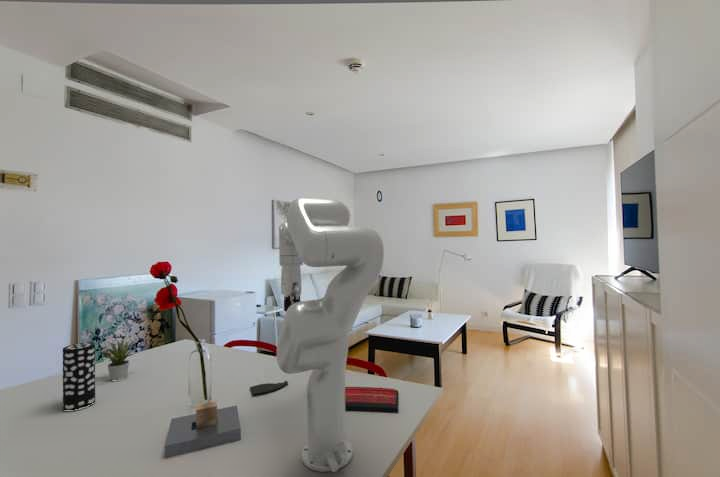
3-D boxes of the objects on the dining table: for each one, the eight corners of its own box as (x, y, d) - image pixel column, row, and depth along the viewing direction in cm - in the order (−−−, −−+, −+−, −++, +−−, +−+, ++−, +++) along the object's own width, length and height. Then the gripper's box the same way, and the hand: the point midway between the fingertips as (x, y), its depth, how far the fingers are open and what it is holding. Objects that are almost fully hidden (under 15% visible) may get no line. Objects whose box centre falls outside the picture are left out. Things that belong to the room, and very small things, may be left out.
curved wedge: (290, 391, 120) (290, 386, 120) (251, 398, 114) (251, 394, 114) (286, 382, 127) (286, 378, 127) (249, 389, 122) (249, 384, 122)
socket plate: (240, 439, 89) (240, 428, 89) (164, 458, 82) (164, 446, 82) (237, 415, 102) (236, 405, 102) (171, 429, 95) (171, 418, 95)
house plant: (134, 368, 145) (134, 331, 145) (148, 375, 136) (147, 335, 137) (94, 379, 133) (94, 339, 133) (106, 387, 125) (106, 344, 125)
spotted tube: (97, 405, 111) (97, 345, 111) (64, 414, 105) (64, 351, 105) (93, 397, 117) (92, 341, 117) (61, 406, 111) (61, 346, 111)
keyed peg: (196, 439, 90) (196, 410, 90) (197, 433, 93) (196, 405, 93) (217, 435, 92) (216, 406, 92) (217, 429, 95) (216, 401, 95)
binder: (397, 407, 101) (331, 404, 104) (398, 415, 101) (331, 412, 104) (398, 387, 117) (340, 385, 120) (398, 393, 117) (340, 392, 120)
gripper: (274, 260, 114) (275, 310, 113) (285, 262, 98) (286, 320, 98) (296, 259, 117) (297, 307, 116) (309, 261, 101) (310, 317, 101)
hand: (292, 313), depth 107 cm, fingers open, 9 cm apart
